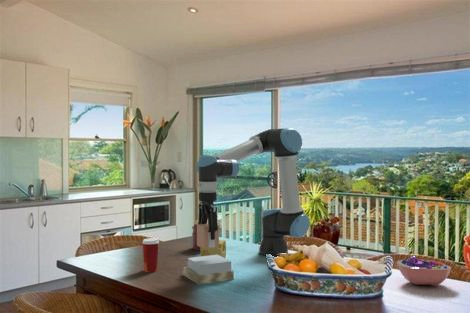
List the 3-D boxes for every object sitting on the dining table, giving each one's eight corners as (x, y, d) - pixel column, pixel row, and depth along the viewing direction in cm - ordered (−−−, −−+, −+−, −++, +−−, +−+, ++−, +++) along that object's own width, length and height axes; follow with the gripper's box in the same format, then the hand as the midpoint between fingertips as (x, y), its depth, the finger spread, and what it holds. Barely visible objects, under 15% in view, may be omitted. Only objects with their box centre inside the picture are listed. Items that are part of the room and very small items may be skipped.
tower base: (216, 271, 204) (216, 262, 204) (233, 280, 190) (233, 270, 190) (183, 276, 197) (183, 267, 197) (198, 286, 183) (198, 276, 183)
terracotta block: (211, 243, 198) (211, 223, 198) (218, 246, 192) (218, 225, 192) (196, 245, 195) (196, 224, 195) (203, 248, 189) (203, 226, 188)
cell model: (448, 294, 169) (448, 264, 169) (392, 286, 180) (392, 257, 179) (453, 283, 183) (453, 255, 183) (401, 276, 194) (401, 249, 194)
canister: (215, 251, 243) (214, 218, 243) (190, 251, 243) (190, 218, 243) (216, 246, 256) (216, 214, 256) (193, 246, 256) (193, 214, 256)
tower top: (217, 263, 203) (217, 254, 203) (231, 271, 190) (231, 261, 190) (187, 267, 197) (187, 258, 196) (199, 275, 184) (199, 265, 184)
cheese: (221, 265, 213) (221, 244, 213) (199, 264, 215) (199, 243, 215) (226, 260, 223) (226, 240, 223) (205, 259, 225) (204, 239, 225)
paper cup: (162, 269, 206) (162, 238, 206) (152, 273, 199) (152, 241, 199) (148, 267, 209) (148, 237, 209) (138, 271, 202) (138, 240, 202)
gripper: (190, 190, 200) (190, 242, 200) (209, 193, 182) (209, 251, 183) (205, 189, 204) (205, 240, 204) (226, 192, 186) (226, 249, 186)
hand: (207, 245), depth 193 cm, fingers closed on terracotta block, 7 cm apart
